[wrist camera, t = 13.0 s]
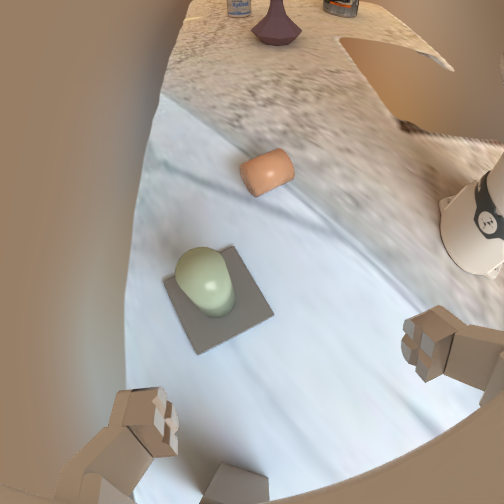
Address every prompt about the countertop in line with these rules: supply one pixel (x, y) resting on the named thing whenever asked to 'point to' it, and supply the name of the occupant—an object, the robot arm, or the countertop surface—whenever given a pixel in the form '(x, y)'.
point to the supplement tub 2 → (341, 7)
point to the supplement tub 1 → (239, 8)
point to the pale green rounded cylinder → (206, 281)
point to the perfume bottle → (236, 487)
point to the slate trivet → (236, 322)
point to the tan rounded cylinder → (267, 172)
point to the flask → (276, 26)
